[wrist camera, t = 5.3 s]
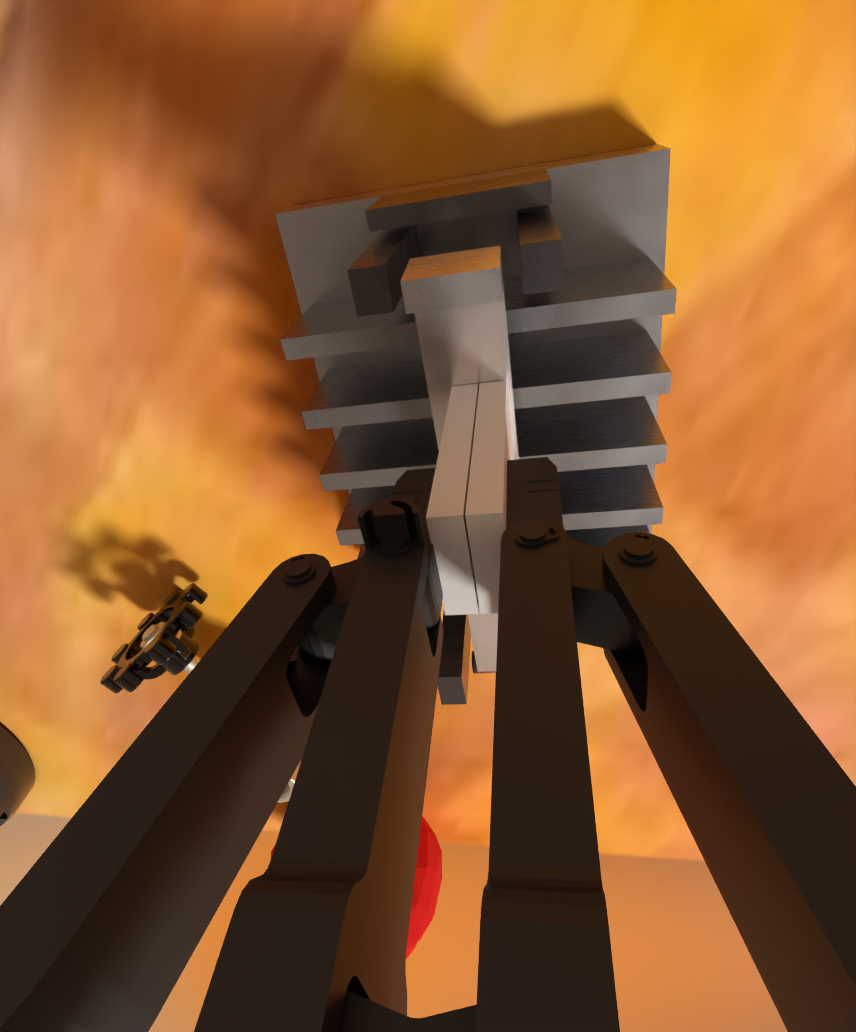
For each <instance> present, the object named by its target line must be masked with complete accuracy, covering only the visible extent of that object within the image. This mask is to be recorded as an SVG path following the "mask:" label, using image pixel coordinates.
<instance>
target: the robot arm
mask: <svg viewBox="0 0 856 1032" xmlns="http://www.w3.org/2000/svg"><path fill="white" fill-rule="evenodd" d="M357 519H358V522H359V526H360V530H361V533H362V537H363V541H364V544H365V552H364V555H363V557H361V558H359V559H357V560H354V561H351V562H348V563H344V564H341V565H337V566H333V567H331V566H330V563H329V561H328V560H327V559H326V558H325V557H324V556H321V555H317V554H302V555H299V556H295V557H292V558H290V559H288V560H286V561H284V562H282V563H281V564H280V565H279V566H278V567H276V568H275V569H274V570H273V571H272V573H271V574H270V575H269V576H268V578H267V579H266V580H265V581H264V582H263V584H262V585H261V586H260V587H259V589H258V590H257V591H256V592H255V594H254V595H253V596H252V597H251V598H250V600H249V601H248V602H247V603H246V605H245V606H244V607H243V608H242V610H241V611H240V612H239V613H238V614H237V616H236V617H235V618H234V619H233V621H232V622H231V623H230V624H229V626H228V627H227V628H226V629H225V630H224V632H223V633H222V634H221V635H220V637H219V638H218V639H217V640H216V641H215V643H214V644H213V645H212V646H211V648H210V649H209V650H208V651H207V653H206V654H205V655H204V656H203V657H202V659H201V660H200V661H199V662H198V664H197V665H196V666H195V667H194V669H193V670H192V671H191V672H190V673H189V675H188V676H187V677H186V678H185V680H184V681H183V682H182V683H181V685H180V686H179V687H178V688H177V689H176V691H175V692H174V693H173V694H172V696H171V697H170V698H169V699H168V700H167V702H166V703H165V704H164V705H163V707H162V708H161V709H160V710H159V712H158V713H157V714H156V715H155V716H154V718H153V719H152V720H151V721H150V723H149V724H148V725H147V726H146V728H145V729H144V730H143V731H142V732H141V734H140V735H139V736H138V737H137V739H136V740H135V741H134V742H133V744H132V745H131V746H130V747H129V748H128V750H127V751H126V752H125V753H124V755H123V756H122V757H121V758H120V760H119V761H118V762H117V763H116V764H115V766H114V767H113V768H112V769H111V771H110V772H109V773H108V774H107V775H106V777H105V778H104V779H103V780H102V782H101V783H100V784H99V785H98V787H97V788H96V789H95V790H94V791H93V793H92V794H91V795H90V796H89V798H88V799H87V800H86V801H85V803H84V804H83V805H82V806H81V807H80V809H79V810H78V811H77V812H76V814H75V815H74V816H73V817H72V819H71V820H70V821H69V822H68V823H67V825H66V826H65V827H64V829H63V830H62V831H61V832H60V833H59V835H58V836H57V837H56V838H55V839H54V841H53V842H52V843H51V844H50V846H49V847H48V848H47V849H46V851H45V852H44V853H43V854H42V856H41V857H40V858H39V859H38V860H37V862H36V863H35V864H34V865H33V867H32V868H31V869H30V870H29V871H28V873H27V874H26V875H25V876H24V878H23V879H22V880H21V881H20V882H19V884H18V885H17V886H16V887H15V889H14V890H13V891H12V892H11V894H10V895H9V896H8V897H7V899H6V900H5V901H4V902H3V903H2V905H1V906H0V1032H148V1031H149V1029H150V1028H151V1026H152V1025H153V1023H154V1021H155V1019H156V1018H157V1016H158V1014H159V1012H160V1011H161V1009H162V1007H163V1005H164V1003H165V1002H166V1000H167V998H168V996H169V994H170V992H171V991H172V989H173V987H174V986H175V984H176V982H177V980H178V978H179V977H180V975H181V973H182V971H183V970H184V968H185V966H186V964H187V962H188V961H189V959H190V957H191V955H192V953H193V952H194V950H195V948H196V946H197V945H198V943H199V941H200V939H201V938H202V936H203V934H204V932H205V930H206V929H207V927H208V925H209V923H210V921H211V920H212V918H213V916H214V914H215V913H216V911H217V909H218V907H219V905H220V904H221V902H222V900H223V898H224V897H225V895H226V893H227V891H228V889H229V888H230V886H231V884H232V882H233V881H234V879H235V877H236V875H237V873H238V872H239V870H240V868H241V866H242V864H243V863H244V861H245V859H246V857H247V855H248V854H249V852H250V850H251V848H252V847H253V845H254V843H255V841H256V840H257V838H258V836H259V834H260V832H261V831H262V829H263V827H264V825H265V824H266V822H267V820H268V818H269V816H270V815H271V813H272V811H273V809H274V808H275V806H276V804H277V802H278V800H279V799H280V797H281V795H282V793H283V792H284V790H285V788H286V786H287V784H288V783H289V781H290V779H291V777H292V776H293V774H294V772H295V770H296V768H297V767H298V765H299V763H300V761H301V763H300V766H299V770H298V773H297V776H296V779H295V783H294V786H293V789H292V793H291V796H290V799H289V803H288V806H287V809H286V812H285V816H284V819H283V822H282V826H281V829H280V832H279V836H278V839H277V842H276V845H275V849H274V852H273V855H272V859H271V861H270V864H269V866H268V869H267V870H266V871H265V873H264V874H263V875H261V876H259V877H256V878H254V879H252V880H250V881H249V882H248V884H247V885H246V886H245V888H244V889H243V890H242V892H241V895H240V897H239V899H238V902H237V904H236V907H235V909H234V912H233V915H232V918H231V921H230V924H229V927H228V930H227V933H226V936H225V939H224V942H223V945H222V948H221V951H220V955H219V958H218V960H217V963H216V966H215V970H214V973H213V976H212V979H211V982H210V985H209V988H208V991H207V994H206V997H205V1000H204V1004H203V1006H202V1009H201V1012H200V1015H199V1018H198V1021H197V1024H196V1027H195V1030H194V1032H620V1028H619V1019H618V1010H617V1000H616V992H615V982H614V972H613V963H612V954H611V944H610V936H609V935H610V934H609V925H608V917H607V908H606V901H605V894H604V891H603V887H602V880H601V872H600V862H599V852H598V842H597V833H596V823H595V813H594V804H593V794H592V784H591V775H590V765H589V755H588V746H587V736H586V726H585V717H584V707H583V697H582V688H581V678H580V668H579V659H578V649H577V642H580V643H584V644H589V645H593V646H597V647H602V648H603V649H604V654H605V657H606V659H607V661H608V663H609V665H610V667H611V669H612V671H613V673H614V675H615V677H616V679H617V681H618V683H619V685H620V688H621V690H622V692H623V694H624V696H625V698H626V700H627V702H628V704H629V706H630V708H631V710H632V712H633V714H634V716H635V718H636V720H637V722H638V725H639V727H640V729H641V731H642V733H643V735H644V737H645V739H646V741H647V743H648V745H649V747H650V749H651V751H652V753H653V755H654V757H655V759H656V762H657V764H658V766H659V768H660V770H661V772H662V774H663V776H664V778H665V780H666V782H667V784H668V786H669V788H670V790H671V792H672V794H673V796H674V798H675V801H676V803H677V805H678V807H679V809H680V811H681V813H682V815H683V817H684V819H685V821H686V823H687V825H688V827H689V829H690V831H691V833H692V835H693V838H694V840H695V842H696V844H697V846H698V848H699V850H700V852H701V854H702V856H703V858H704V860H705V862H706V864H707V866H708V868H709V870H710V872H711V874H712V876H713V879H714V881H715V883H716V885H717V887H718V889H719V891H720V893H721V895H722V897H723V899H724V901H725V903H726V905H727V907H728V909H729V911H730V914H731V916H732V918H733V920H734V922H735V924H736V926H737V928H738V930H739V932H740V934H741V936H742V938H743V940H744V942H745V944H746V946H747V948H748V951H749V952H750V955H751V957H752V959H753V961H754V963H755V965H756V967H757V969H758V971H759V973H760V975H761V977H762V979H763V981H764V983H765V985H766V988H767V990H768V992H769V994H770V996H771V998H772V1000H773V1002H774V1004H775V1006H776V1008H777V1010H778V1012H779V1014H780V1016H781V1018H782V1020H783V1022H784V1025H785V1026H786V1029H787V1031H788V1032H856V786H855V785H854V784H853V782H852V781H851V780H850V779H849V777H848V776H847V775H846V773H845V772H844V771H843V769H842V768H841V767H840V765H839V764H838V763H837V761H836V760H835V759H834V758H833V756H832V755H831V754H830V752H829V751H828V750H827V748H826V747H825V746H824V744H823V743H822V742H821V740H820V739H819V738H818V737H817V735H816V734H815V733H814V731H813V730H812V729H811V727H810V726H809V725H808V723H807V722H806V721H805V720H804V718H803V717H802V716H801V714H800V713H799V712H798V710H797V709H796V708H795V706H794V705H793V704H792V702H791V701H790V700H789V699H788V697H787V696H786V695H785V693H784V692H783V691H782V689H781V688H780V687H779V685H778V684H777V683H776V681H775V680H774V679H773V678H772V676H771V675H770V674H769V672H768V671H767V670H766V668H765V667H764V666H763V664H762V663H761V662H760V661H759V659H758V658H757V657H756V655H755V654H754V653H753V651H752V650H751V649H750V647H749V646H748V645H747V643H746V642H745V641H744V640H743V638H742V637H741V636H740V634H739V633H738V632H737V630H736V629H735V628H734V626H733V625H732V624H731V622H730V621H729V620H728V619H727V617H726V616H725V615H724V613H723V612H722V611H721V609H720V608H719V607H718V605H717V604H716V603H715V602H714V600H713V599H712V598H711V596H710V595H709V594H708V592H707V591H706V590H705V588H704V587H703V586H702V584H701V583H700V582H699V581H698V579H697V578H696V577H695V575H694V574H693V573H692V571H691V570H690V569H689V567H688V566H687V565H686V564H685V562H684V561H683V560H682V558H681V557H680V556H679V554H678V553H677V552H676V550H675V549H674V548H673V546H672V545H670V544H669V543H668V542H667V541H666V540H664V539H663V538H660V537H658V536H655V535H653V534H647V533H640V532H635V533H625V534H622V535H619V536H616V537H613V538H612V539H611V540H610V541H608V542H607V543H606V544H605V547H604V548H599V547H593V546H589V545H585V544H582V543H580V542H577V541H575V540H574V539H573V538H571V537H570V536H569V535H568V534H567V533H566V531H565V529H564V526H563V518H562V509H561V500H560V491H559V482H558V473H557V467H556V465H555V464H554V463H553V462H552V461H551V460H550V459H549V458H548V457H540V458H528V459H516V460H514V457H513V447H512V436H511V426H510V416H509V405H508V395H507V385H506V381H497V382H488V383H480V384H479V388H478V384H470V385H460V386H452V388H451V393H450V398H449V403H448V408H447V413H446V418H445V424H444V429H443V434H442V439H441V444H440V449H439V454H438V459H437V464H436V468H426V469H414V470H407V471H406V472H405V473H404V474H403V475H402V476H401V477H400V478H399V479H398V480H397V481H396V484H395V487H394V491H393V495H392V498H386V499H381V500H378V501H376V502H374V503H371V504H369V505H368V506H367V507H365V508H364V509H363V510H361V512H360V513H359V515H358V516H357ZM442 601H443V606H444V611H445V615H467V614H479V607H480V614H492V613H498V632H497V660H496V687H495V714H494V741H493V769H492V796H491V823H490V851H489V873H488V881H487V884H486V886H485V888H484V890H483V897H482V907H481V920H480V943H479V966H478V990H477V1005H473V1006H470V1007H465V1008H462V1009H457V1010H453V1011H449V1012H445V1013H441V1014H437V1015H433V1016H429V1017H425V1018H410V1017H407V987H406V975H405V961H406V949H407V940H408V932H409V923H410V915H411V906H412V898H413V889H414V880H415V872H416V863H417V855H418V846H419V838H420V829H421V821H422V812H423V804H424V795H425V787H426V778H427V769H428V761H429V752H430V744H431V735H432V727H433V718H434V710H435V701H436V693H437V684H438V676H439V667H440V658H441V650H442V641H443V633H444V632H443V625H442V620H441V616H440V614H441V606H442ZM301 759H302V760H301ZM34 782H35V770H34V766H33V763H32V761H31V759H30V757H29V755H28V754H27V752H26V751H25V749H24V748H23V747H22V745H21V744H20V743H19V742H18V741H17V740H16V739H15V738H14V737H13V736H12V735H11V734H10V733H9V732H8V731H7V730H6V729H5V728H3V727H2V726H1V725H0V826H1V825H2V824H4V823H5V822H6V821H7V820H8V819H10V818H11V817H12V815H13V814H14V813H15V812H16V811H17V809H18V808H19V806H20V805H21V803H22V802H23V800H24V799H25V798H26V796H27V795H28V793H29V792H30V790H31V789H32V787H33V785H34Z"/></svg>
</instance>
